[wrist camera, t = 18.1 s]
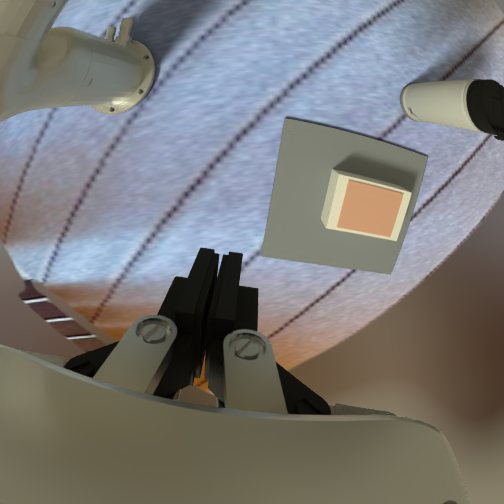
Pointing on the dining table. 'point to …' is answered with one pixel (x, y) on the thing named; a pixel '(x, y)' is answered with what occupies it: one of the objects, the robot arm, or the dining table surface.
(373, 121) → the dining table surface
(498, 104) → the travel mug
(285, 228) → the mat
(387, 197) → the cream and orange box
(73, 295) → the dining table surface
